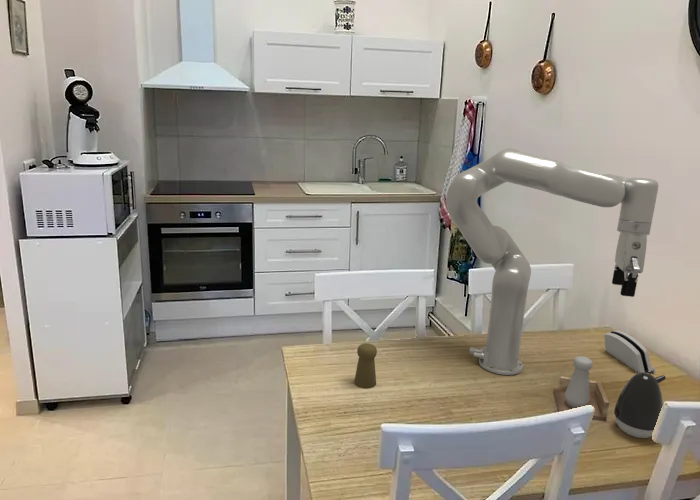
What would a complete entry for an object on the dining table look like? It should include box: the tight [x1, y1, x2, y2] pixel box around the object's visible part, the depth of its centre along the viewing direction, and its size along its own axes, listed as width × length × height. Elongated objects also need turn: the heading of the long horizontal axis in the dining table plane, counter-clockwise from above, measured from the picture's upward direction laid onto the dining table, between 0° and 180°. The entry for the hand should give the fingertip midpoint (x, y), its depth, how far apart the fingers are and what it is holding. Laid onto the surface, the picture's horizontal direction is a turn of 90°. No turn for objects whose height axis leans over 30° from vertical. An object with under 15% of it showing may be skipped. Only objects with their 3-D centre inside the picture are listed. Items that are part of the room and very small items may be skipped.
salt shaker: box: [565, 355, 593, 408], centre depth 136 cm, size 6×6×13 cm
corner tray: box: [553, 375, 610, 422], centre depth 139 cm, size 11×11×5 cm
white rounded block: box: [603, 329, 656, 374], centre depth 165 cm, size 17×5×10 cm, turn 11°
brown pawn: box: [353, 342, 378, 390], centre depth 145 cm, size 6×6×11 cm
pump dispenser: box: [613, 372, 667, 439], centre depth 127 cm, size 10×10×15 cm
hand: (622, 290), depth 143 cm, fingers open, 9 cm apart
